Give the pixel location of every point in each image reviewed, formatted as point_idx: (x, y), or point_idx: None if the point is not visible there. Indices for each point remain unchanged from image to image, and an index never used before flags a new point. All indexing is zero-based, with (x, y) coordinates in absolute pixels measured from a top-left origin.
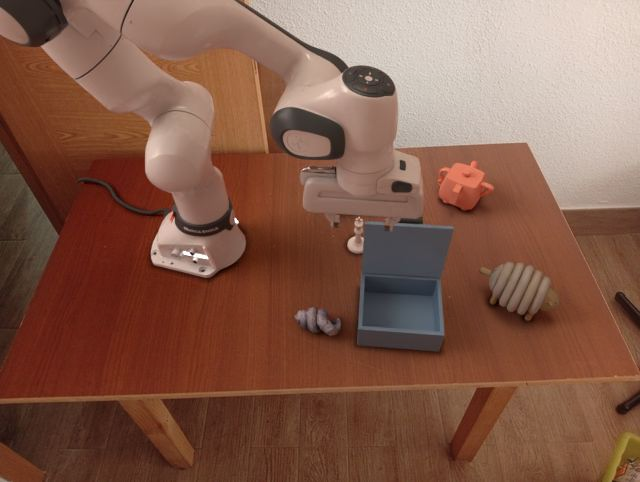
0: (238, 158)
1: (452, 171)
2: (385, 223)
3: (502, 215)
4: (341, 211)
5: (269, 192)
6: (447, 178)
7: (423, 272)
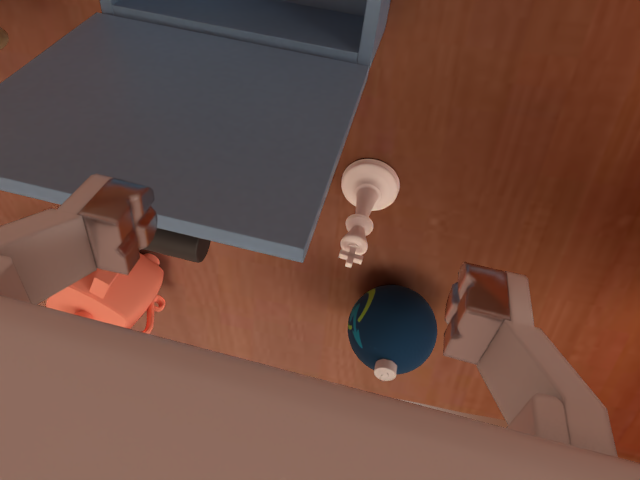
0: (622, 445)
1: None
2: (113, 236)
3: (31, 204)
4: (449, 463)
5: (575, 361)
6: (124, 315)
7: (146, 33)
